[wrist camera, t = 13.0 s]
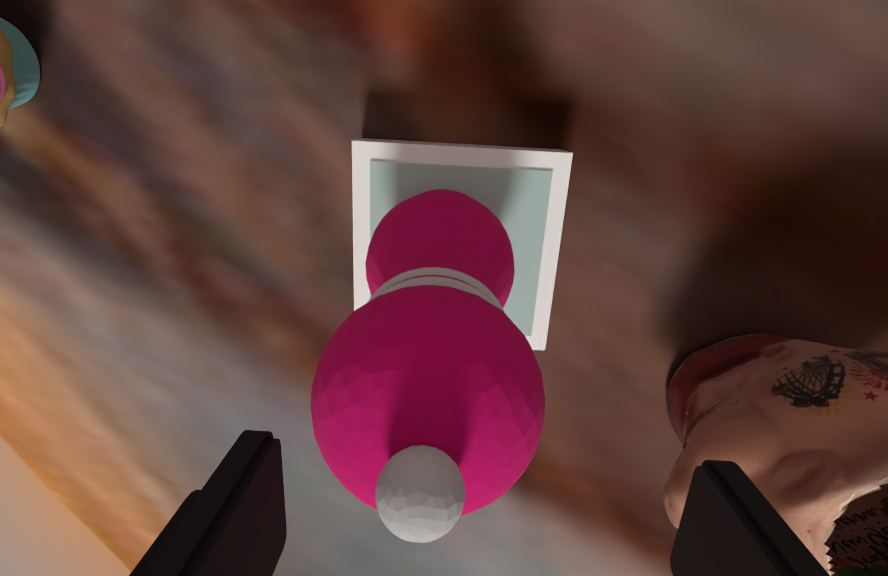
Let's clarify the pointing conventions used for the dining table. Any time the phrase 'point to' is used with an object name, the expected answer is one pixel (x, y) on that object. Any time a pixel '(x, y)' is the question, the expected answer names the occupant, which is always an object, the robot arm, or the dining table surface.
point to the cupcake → (16, 69)
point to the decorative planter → (793, 439)
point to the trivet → (485, 180)
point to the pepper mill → (430, 371)
